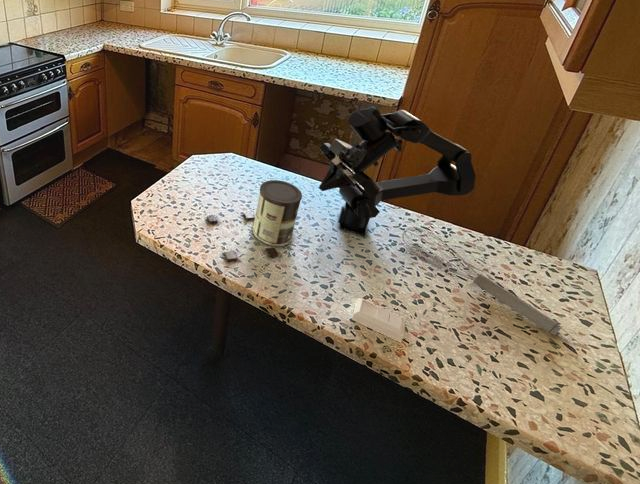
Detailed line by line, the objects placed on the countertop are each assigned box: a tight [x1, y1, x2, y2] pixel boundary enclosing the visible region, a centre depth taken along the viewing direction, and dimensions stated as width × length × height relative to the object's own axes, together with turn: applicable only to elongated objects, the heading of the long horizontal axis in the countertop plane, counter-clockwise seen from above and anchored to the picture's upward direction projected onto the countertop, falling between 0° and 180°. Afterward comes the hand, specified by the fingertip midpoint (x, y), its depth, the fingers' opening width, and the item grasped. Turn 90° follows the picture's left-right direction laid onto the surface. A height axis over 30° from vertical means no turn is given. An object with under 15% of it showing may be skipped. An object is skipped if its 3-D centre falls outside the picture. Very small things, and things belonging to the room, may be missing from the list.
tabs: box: [206, 211, 279, 262], centre depth 108 cm, size 13×17×1 cm
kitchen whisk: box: [401, 226, 574, 342], centre depth 92 cm, size 6×34×6 cm, turn 29°
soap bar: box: [351, 297, 406, 343], centre depth 84 cm, size 5×9×3 cm, turn 54°
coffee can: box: [252, 179, 303, 247], centre depth 106 cm, size 10×10×14 cm
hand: (320, 189), depth 104 cm, fingers closed
